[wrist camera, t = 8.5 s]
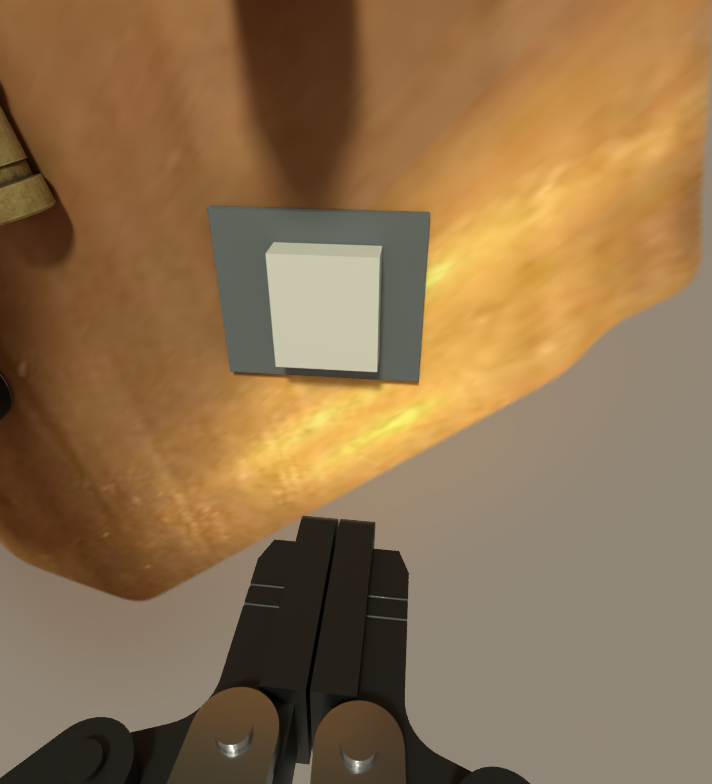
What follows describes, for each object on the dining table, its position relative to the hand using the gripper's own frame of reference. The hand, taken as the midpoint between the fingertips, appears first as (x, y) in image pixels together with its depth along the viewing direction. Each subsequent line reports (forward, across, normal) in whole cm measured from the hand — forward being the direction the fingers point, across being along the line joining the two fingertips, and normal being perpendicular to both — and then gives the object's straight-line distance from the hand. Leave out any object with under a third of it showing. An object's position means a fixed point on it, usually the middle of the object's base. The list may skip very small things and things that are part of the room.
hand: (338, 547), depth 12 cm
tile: (+26, +8, +7) cm, 28 cm away
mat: (+28, +5, +7) cm, 29 cm away
